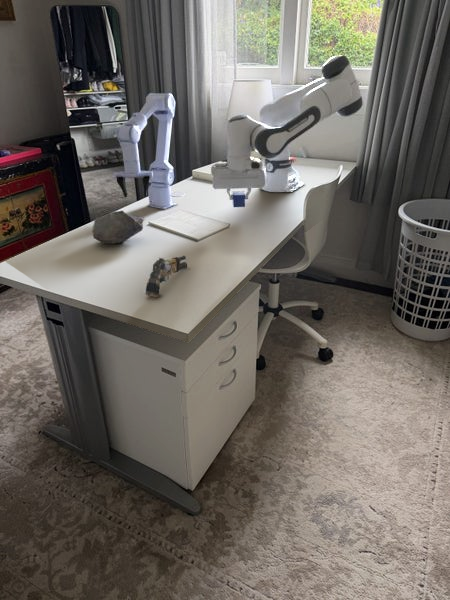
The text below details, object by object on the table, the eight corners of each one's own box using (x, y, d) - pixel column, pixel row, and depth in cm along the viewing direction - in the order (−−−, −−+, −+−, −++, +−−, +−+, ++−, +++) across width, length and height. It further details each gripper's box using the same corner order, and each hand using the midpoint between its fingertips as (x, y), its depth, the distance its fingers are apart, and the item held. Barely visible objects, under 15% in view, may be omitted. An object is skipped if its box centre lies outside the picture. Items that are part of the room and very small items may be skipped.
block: (233, 207, 163) (233, 195, 161) (232, 203, 167) (232, 191, 165) (244, 207, 163) (245, 194, 161) (243, 202, 168) (243, 191, 165)
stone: (131, 200, 152) (144, 211, 140) (139, 226, 157) (152, 240, 146) (83, 215, 146) (92, 228, 134) (93, 242, 152) (103, 257, 140)
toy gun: (142, 297, 112) (143, 260, 110) (178, 282, 131) (180, 250, 128) (153, 299, 111) (154, 262, 108) (188, 284, 130) (190, 252, 127)
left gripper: (109, 163, 153) (115, 199, 160) (149, 162, 154) (153, 198, 161) (113, 158, 159) (118, 194, 166) (151, 158, 160) (155, 193, 167)
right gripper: (211, 165, 154) (212, 202, 161) (266, 164, 155) (265, 200, 162) (210, 161, 160) (212, 197, 167) (264, 160, 160) (263, 196, 167)
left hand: (135, 196), depth 164 cm, fingers open, 7 cm apart
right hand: (238, 199), depth 164 cm, fingers closed on block, 4 cm apart
